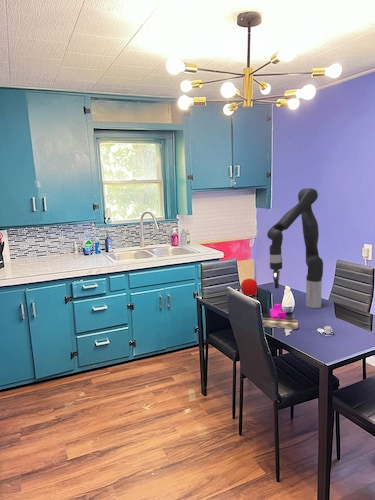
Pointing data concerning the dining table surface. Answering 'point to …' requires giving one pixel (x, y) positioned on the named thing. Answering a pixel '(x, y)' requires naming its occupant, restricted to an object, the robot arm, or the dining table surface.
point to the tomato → (249, 287)
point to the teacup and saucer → (325, 330)
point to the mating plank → (280, 323)
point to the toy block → (277, 312)
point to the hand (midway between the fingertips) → (276, 288)
